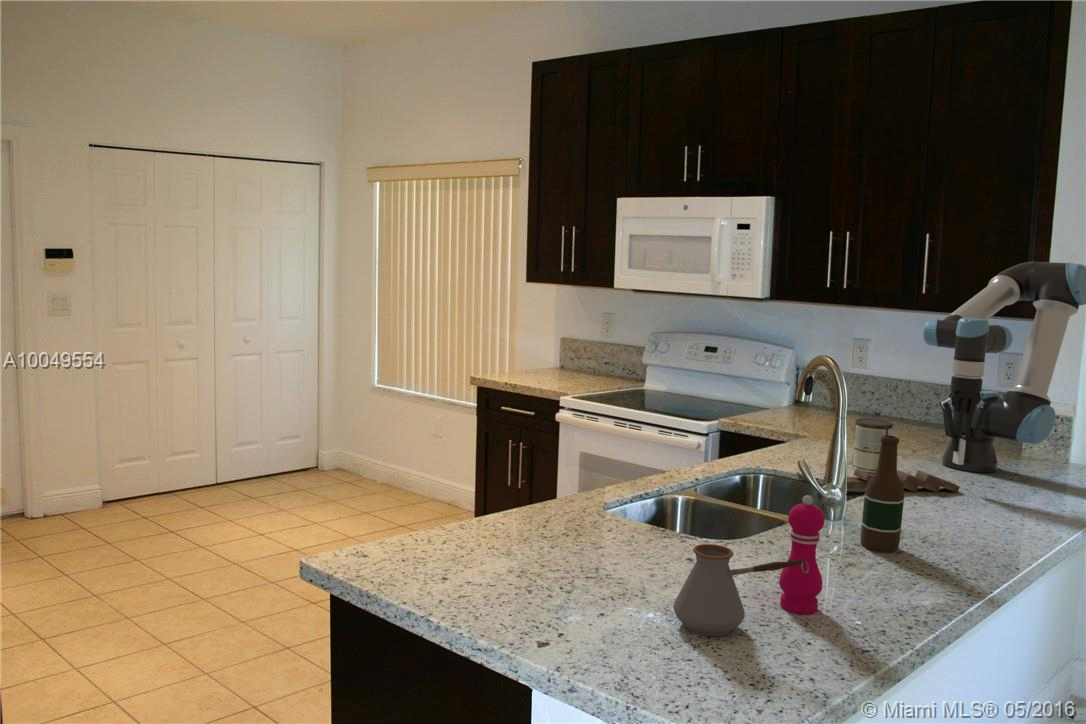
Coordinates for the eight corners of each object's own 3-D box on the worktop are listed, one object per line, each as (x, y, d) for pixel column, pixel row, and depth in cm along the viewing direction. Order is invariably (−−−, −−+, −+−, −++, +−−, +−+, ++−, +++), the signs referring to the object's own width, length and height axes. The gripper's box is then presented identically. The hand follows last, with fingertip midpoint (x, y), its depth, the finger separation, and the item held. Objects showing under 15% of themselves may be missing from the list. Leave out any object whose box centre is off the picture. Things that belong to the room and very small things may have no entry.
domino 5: (929, 481, 247) (897, 469, 245) (940, 486, 242) (907, 474, 240) (927, 487, 247) (895, 476, 245) (937, 492, 242) (904, 481, 240)
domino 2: (859, 477, 243) (823, 476, 242) (868, 481, 238) (832, 481, 237) (859, 483, 243) (823, 483, 242) (867, 488, 238) (831, 487, 237)
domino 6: (949, 481, 247) (917, 469, 246) (960, 486, 242) (927, 474, 241) (946, 487, 247) (915, 476, 246) (957, 492, 243) (925, 480, 241)
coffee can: (847, 463, 271) (851, 417, 269) (883, 466, 270) (887, 419, 268) (855, 472, 261) (860, 423, 259) (892, 474, 260) (897, 426, 258)
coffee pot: (659, 627, 147) (665, 537, 145) (692, 606, 156) (698, 522, 155) (785, 668, 135) (794, 570, 133) (813, 643, 144) (821, 551, 142)
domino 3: (856, 482, 244) (820, 481, 243) (865, 487, 239) (828, 486, 238) (856, 489, 244) (820, 488, 243) (864, 494, 239) (827, 493, 238)
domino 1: (884, 480, 245) (856, 468, 241) (896, 485, 240) (867, 474, 237) (881, 486, 245) (853, 474, 241) (893, 492, 240) (865, 480, 237)
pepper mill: (771, 599, 162) (780, 489, 159) (810, 599, 162) (820, 490, 160) (785, 615, 154) (795, 501, 152) (826, 616, 155) (837, 502, 152)
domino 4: (908, 481, 246) (876, 469, 244) (918, 485, 241) (886, 474, 239) (905, 487, 246) (874, 475, 244) (916, 492, 241) (884, 480, 239)
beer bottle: (898, 544, 196) (909, 435, 193) (899, 555, 189) (911, 442, 186) (859, 539, 198) (870, 431, 195) (859, 549, 191) (870, 437, 188)
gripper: (981, 375, 246) (972, 460, 249) (936, 373, 244) (927, 459, 247) (998, 379, 238) (988, 467, 241) (952, 377, 237) (942, 466, 240)
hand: (957, 463), depth 244 cm, fingers closed
